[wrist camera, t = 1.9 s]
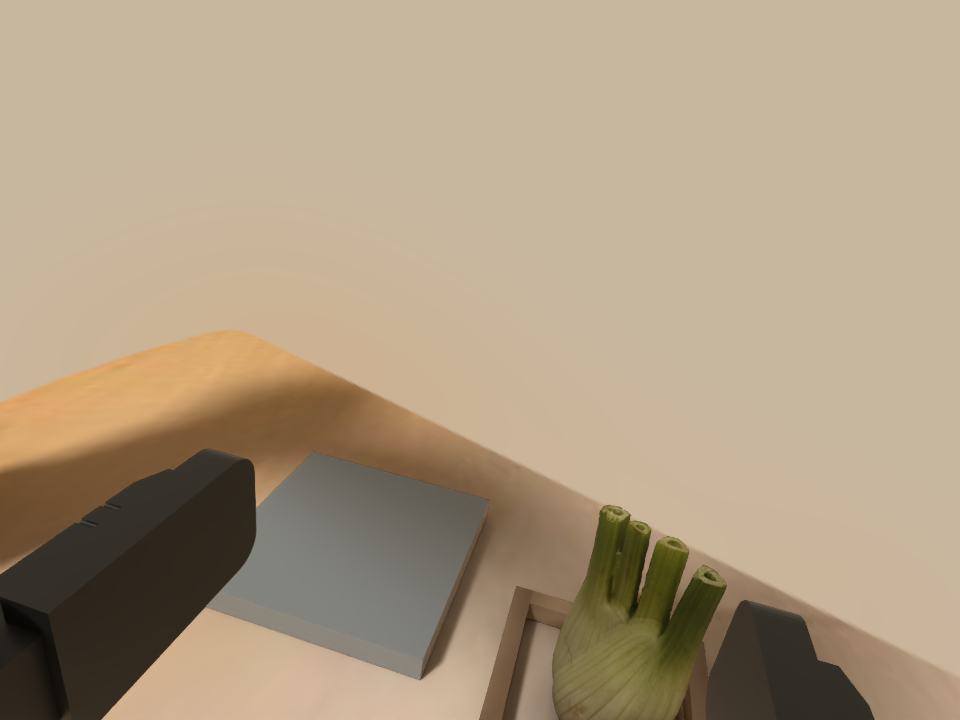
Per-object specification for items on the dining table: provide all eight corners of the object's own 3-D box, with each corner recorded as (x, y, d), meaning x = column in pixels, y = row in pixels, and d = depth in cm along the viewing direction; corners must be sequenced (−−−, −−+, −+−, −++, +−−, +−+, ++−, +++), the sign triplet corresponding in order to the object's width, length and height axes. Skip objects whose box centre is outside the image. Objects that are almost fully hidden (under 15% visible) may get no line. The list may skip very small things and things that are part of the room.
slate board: (185, 599, 32) (183, 579, 32) (313, 467, 45) (313, 451, 44) (420, 680, 30) (422, 659, 29) (486, 516, 42) (489, 499, 42)
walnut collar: (456, 807, 25) (459, 789, 24) (513, 600, 35) (516, 585, 35) (723, 908, 23) (732, 891, 22) (697, 656, 33) (703, 642, 33)
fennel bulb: (668, 770, 27) (749, 578, 23) (574, 793, 26) (639, 593, 21) (611, 663, 32) (667, 487, 28) (529, 677, 31) (573, 494, 26)
